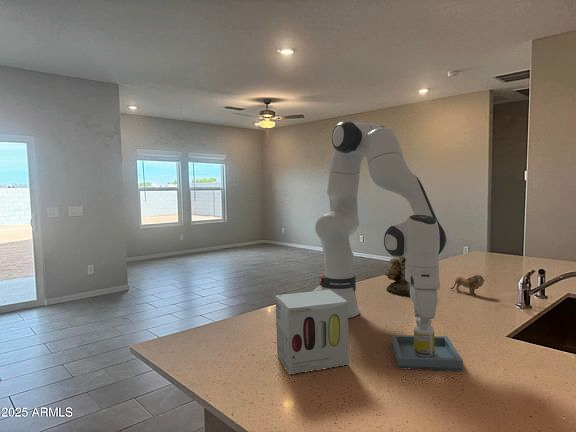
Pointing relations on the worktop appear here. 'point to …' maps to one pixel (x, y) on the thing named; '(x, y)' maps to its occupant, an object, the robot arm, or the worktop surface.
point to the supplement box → (312, 330)
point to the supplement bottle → (424, 340)
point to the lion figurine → (469, 283)
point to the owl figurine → (398, 277)
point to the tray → (440, 360)
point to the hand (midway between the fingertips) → (420, 323)
